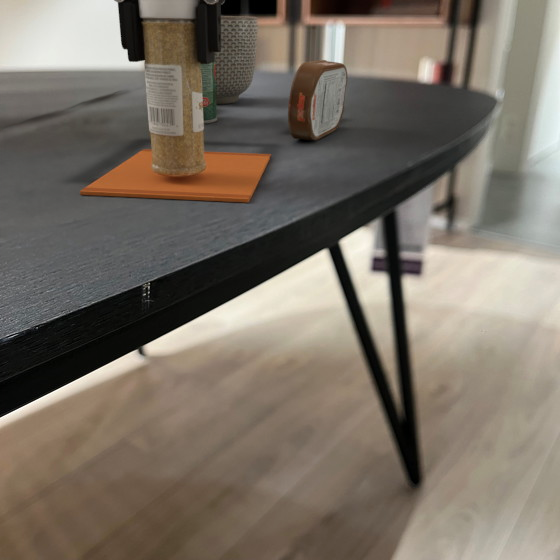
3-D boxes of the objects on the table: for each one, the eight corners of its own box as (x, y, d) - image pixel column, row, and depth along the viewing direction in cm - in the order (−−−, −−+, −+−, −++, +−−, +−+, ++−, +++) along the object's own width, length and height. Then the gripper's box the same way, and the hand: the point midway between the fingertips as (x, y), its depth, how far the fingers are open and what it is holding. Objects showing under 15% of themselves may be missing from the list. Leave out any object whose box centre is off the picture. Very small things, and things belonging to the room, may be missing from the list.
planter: (161, 104, 90) (155, 14, 85) (189, 95, 103) (185, 15, 97) (246, 109, 88) (246, 16, 83) (264, 98, 101) (265, 17, 95)
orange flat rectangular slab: (80, 194, 44) (79, 190, 43) (143, 151, 58) (143, 148, 58) (248, 202, 43) (248, 198, 42) (270, 157, 57) (270, 153, 57)
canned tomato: (226, 117, 80) (224, 32, 75) (202, 126, 73) (198, 32, 68) (174, 114, 82) (170, 30, 77) (146, 122, 75) (140, 30, 70)
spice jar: (217, 172, 47) (213, -9, 42) (172, 181, 44) (161, -13, 39) (184, 162, 50) (176, -8, 45) (139, 170, 47) (125, -11, 42)
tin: (324, 125, 76) (328, 57, 72) (347, 127, 75) (352, 58, 71) (284, 145, 63) (286, 63, 59) (311, 148, 62) (314, 65, 58)
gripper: (293, -223, 39) (286, 62, 47) (54, -221, 40) (85, 56, 48) (284, -274, 32) (277, 68, 40) (-3, -271, 33) (43, 61, 41)
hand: (172, 59), depth 44 cm, fingers closed on spice jar, 4 cm apart
